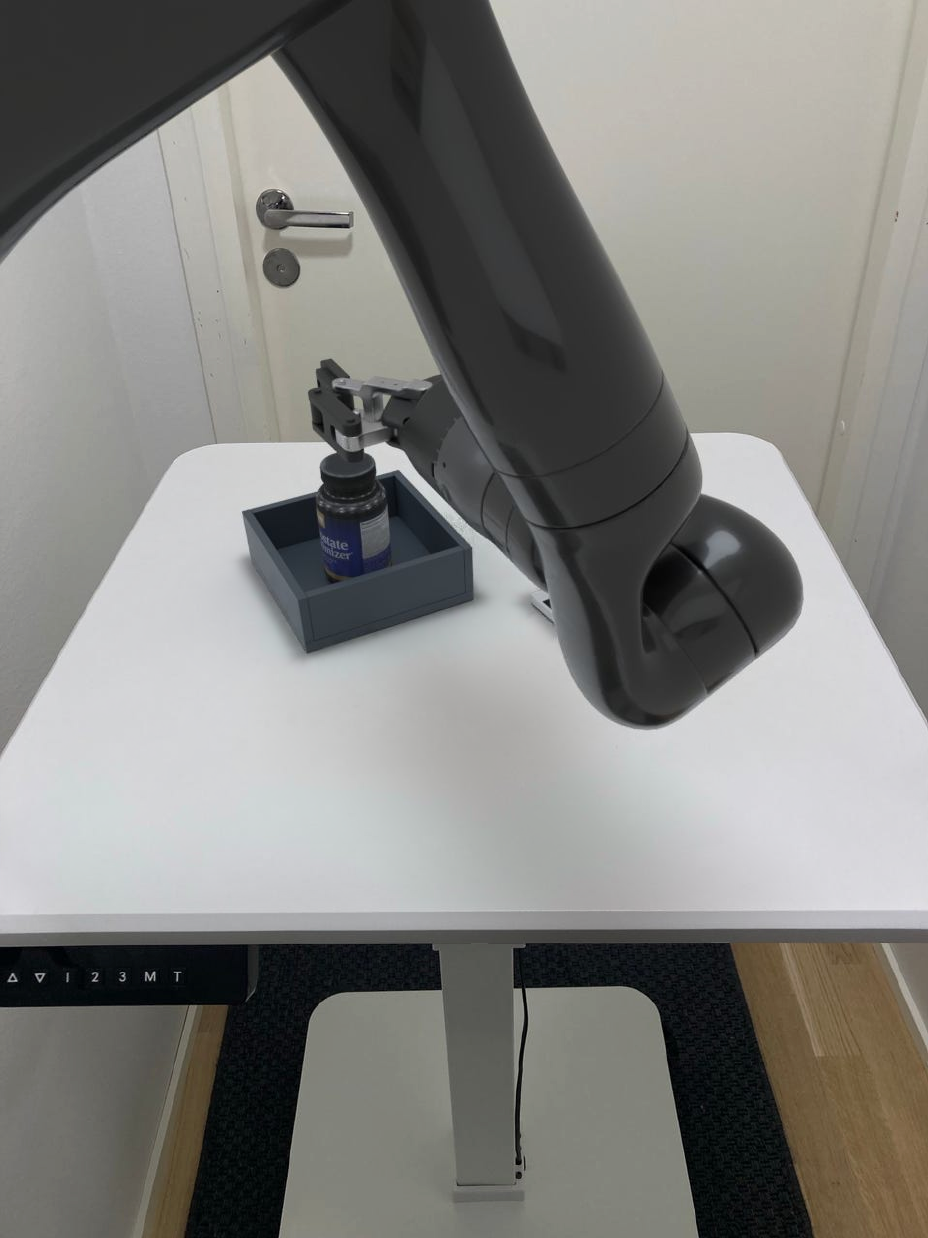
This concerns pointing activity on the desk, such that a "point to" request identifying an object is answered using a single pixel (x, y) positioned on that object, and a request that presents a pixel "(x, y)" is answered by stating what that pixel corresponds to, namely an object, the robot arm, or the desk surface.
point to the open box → (335, 612)
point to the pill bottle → (352, 518)
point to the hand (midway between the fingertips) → (385, 360)
